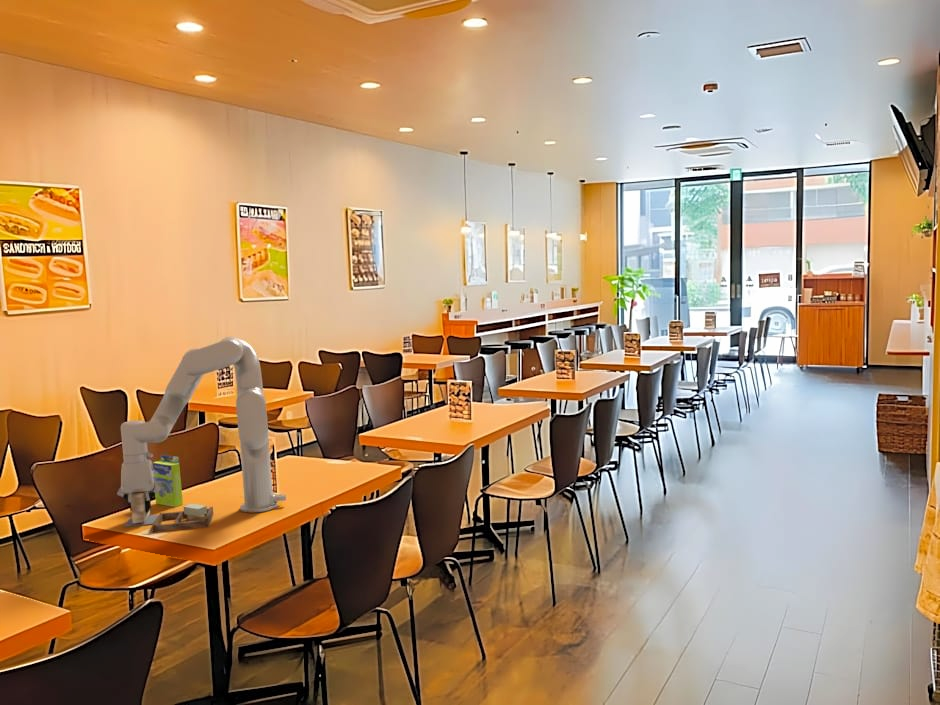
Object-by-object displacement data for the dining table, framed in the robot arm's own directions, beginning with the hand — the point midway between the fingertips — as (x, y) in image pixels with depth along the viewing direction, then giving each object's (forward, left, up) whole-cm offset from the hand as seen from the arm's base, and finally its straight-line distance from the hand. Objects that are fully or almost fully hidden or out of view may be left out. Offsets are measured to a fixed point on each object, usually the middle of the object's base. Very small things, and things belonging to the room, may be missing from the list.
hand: (140, 511), depth 263 cm
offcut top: (-18, +6, -1) cm, 19 cm away
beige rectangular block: (0, 0, -2) cm, 2 cm away
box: (-6, -18, -4) cm, 20 cm away
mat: (0, 0, -3) cm, 3 cm away
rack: (-14, +7, -3) cm, 16 cm away
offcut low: (-18, +6, -4) cm, 20 cm away
